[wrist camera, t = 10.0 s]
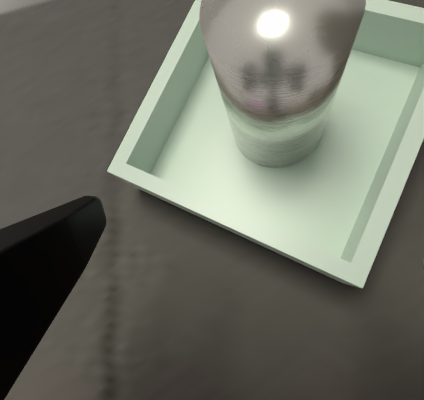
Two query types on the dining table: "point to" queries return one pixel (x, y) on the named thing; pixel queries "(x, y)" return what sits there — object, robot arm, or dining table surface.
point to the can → (279, 69)
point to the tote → (300, 172)
